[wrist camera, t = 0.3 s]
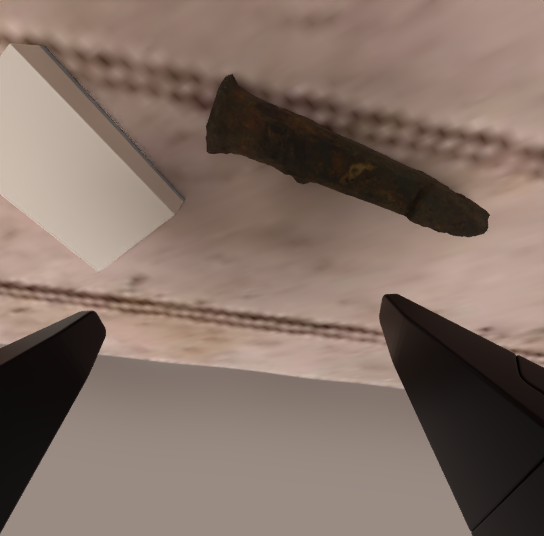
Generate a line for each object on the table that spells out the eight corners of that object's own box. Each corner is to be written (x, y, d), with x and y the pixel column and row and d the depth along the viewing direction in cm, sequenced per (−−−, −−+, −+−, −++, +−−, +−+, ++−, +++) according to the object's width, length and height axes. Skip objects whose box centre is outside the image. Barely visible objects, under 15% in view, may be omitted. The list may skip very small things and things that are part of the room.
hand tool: (208, 138, 20) (192, 156, 16) (227, 70, 17) (214, 73, 14) (438, 238, 24) (470, 272, 20) (476, 194, 22) (520, 222, 18)
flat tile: (-26, 135, 19) (-63, 144, 17) (43, 45, 17) (9, 43, 14) (114, 253, 24) (98, 272, 22) (184, 199, 22) (174, 214, 20)
